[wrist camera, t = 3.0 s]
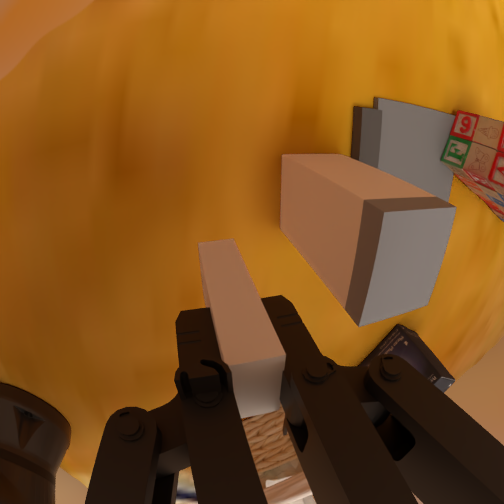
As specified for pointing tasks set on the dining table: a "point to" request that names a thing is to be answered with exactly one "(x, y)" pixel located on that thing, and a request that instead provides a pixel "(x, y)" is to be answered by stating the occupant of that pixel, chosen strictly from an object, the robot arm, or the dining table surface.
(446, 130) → the pad
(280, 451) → the storage basket
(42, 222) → the dining table surface
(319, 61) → the dining table surface
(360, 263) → the tall block
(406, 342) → the small box
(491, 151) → the stack of blocks
